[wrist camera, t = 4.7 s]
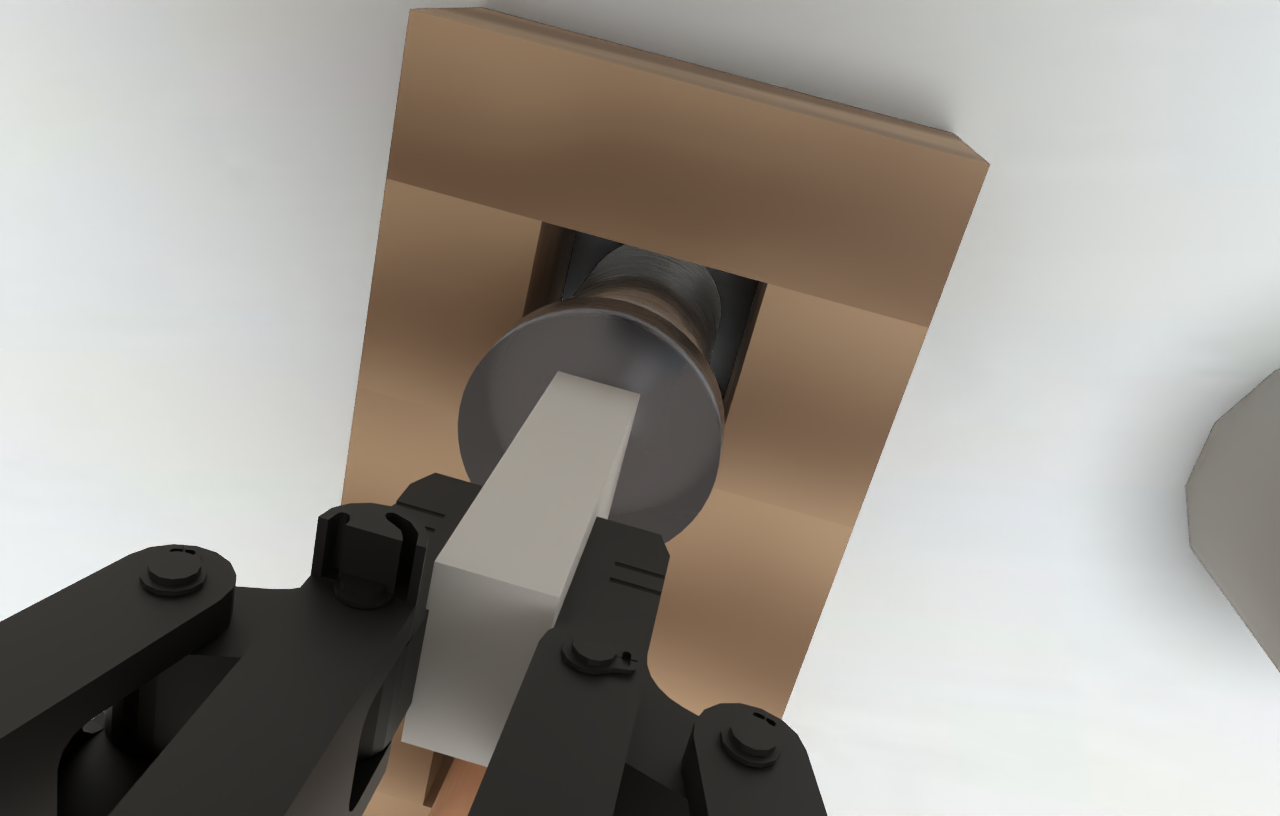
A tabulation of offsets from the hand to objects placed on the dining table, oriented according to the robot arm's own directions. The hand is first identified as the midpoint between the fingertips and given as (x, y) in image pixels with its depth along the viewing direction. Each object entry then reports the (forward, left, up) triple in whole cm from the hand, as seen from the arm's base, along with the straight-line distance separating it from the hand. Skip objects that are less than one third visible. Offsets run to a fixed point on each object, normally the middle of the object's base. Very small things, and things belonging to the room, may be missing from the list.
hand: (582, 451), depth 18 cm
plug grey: (0, 0, -9) cm, 9 cm away
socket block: (+6, 0, -10) cm, 12 cm away
